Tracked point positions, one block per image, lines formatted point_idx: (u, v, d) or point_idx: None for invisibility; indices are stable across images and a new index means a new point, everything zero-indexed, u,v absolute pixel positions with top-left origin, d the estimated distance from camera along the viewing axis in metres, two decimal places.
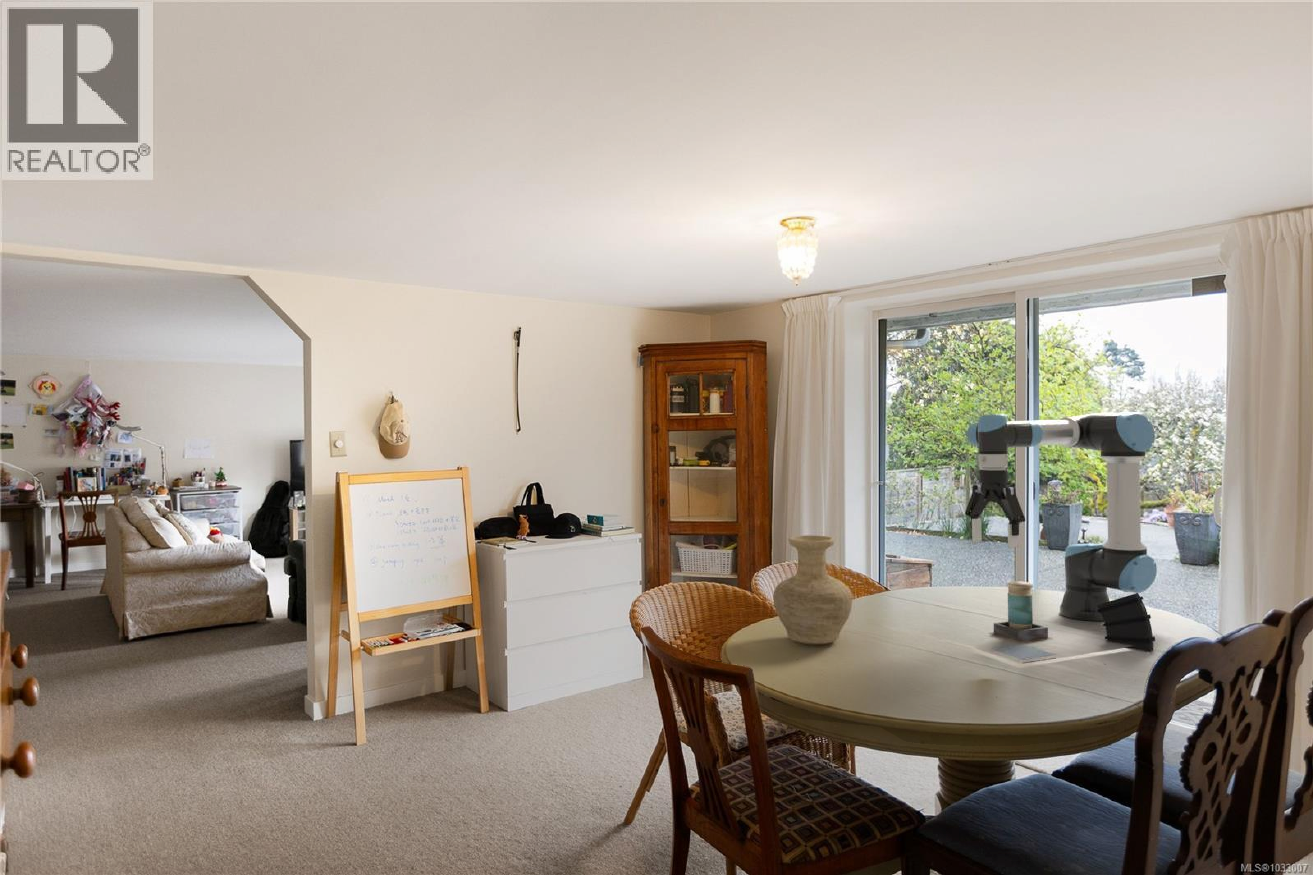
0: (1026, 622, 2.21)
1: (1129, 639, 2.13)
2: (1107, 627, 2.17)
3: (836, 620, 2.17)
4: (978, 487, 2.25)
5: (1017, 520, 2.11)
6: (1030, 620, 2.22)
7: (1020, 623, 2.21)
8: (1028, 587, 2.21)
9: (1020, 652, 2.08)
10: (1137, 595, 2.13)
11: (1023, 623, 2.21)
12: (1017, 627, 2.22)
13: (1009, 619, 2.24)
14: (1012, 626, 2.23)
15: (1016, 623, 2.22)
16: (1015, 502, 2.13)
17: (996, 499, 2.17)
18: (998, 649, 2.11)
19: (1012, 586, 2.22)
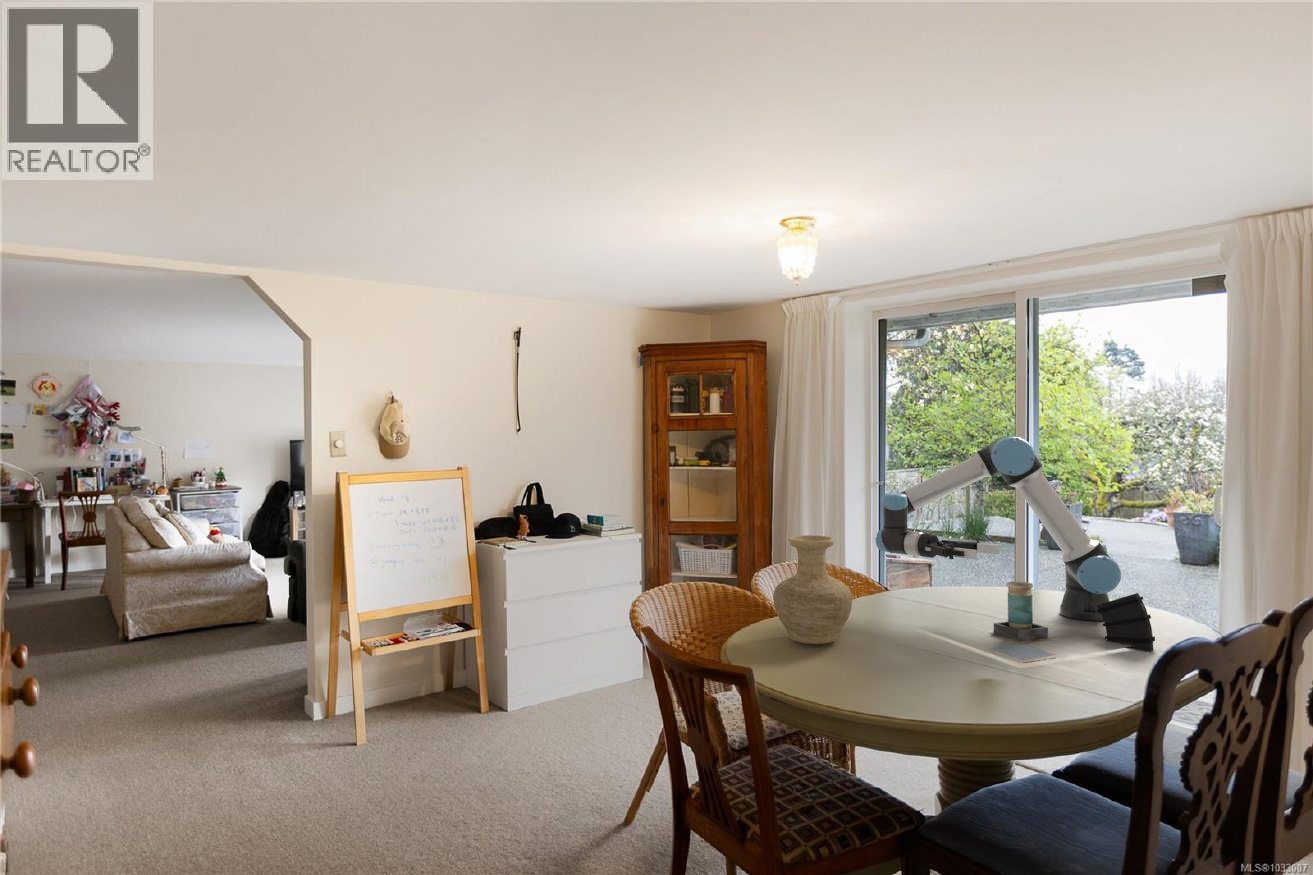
0: (1026, 622, 2.21)
1: (1129, 639, 2.13)
2: (1107, 627, 2.17)
3: (836, 620, 2.17)
4: None
5: None
6: (1030, 620, 2.22)
7: (1020, 623, 2.21)
8: (1028, 587, 2.21)
9: (1020, 652, 2.08)
10: (1137, 595, 2.13)
11: (1023, 623, 2.21)
12: (1017, 627, 2.22)
13: (1009, 619, 2.24)
14: (1012, 626, 2.23)
15: (1016, 623, 2.22)
16: (934, 550, 2.36)
17: None
18: (998, 649, 2.11)
19: (1012, 586, 2.22)
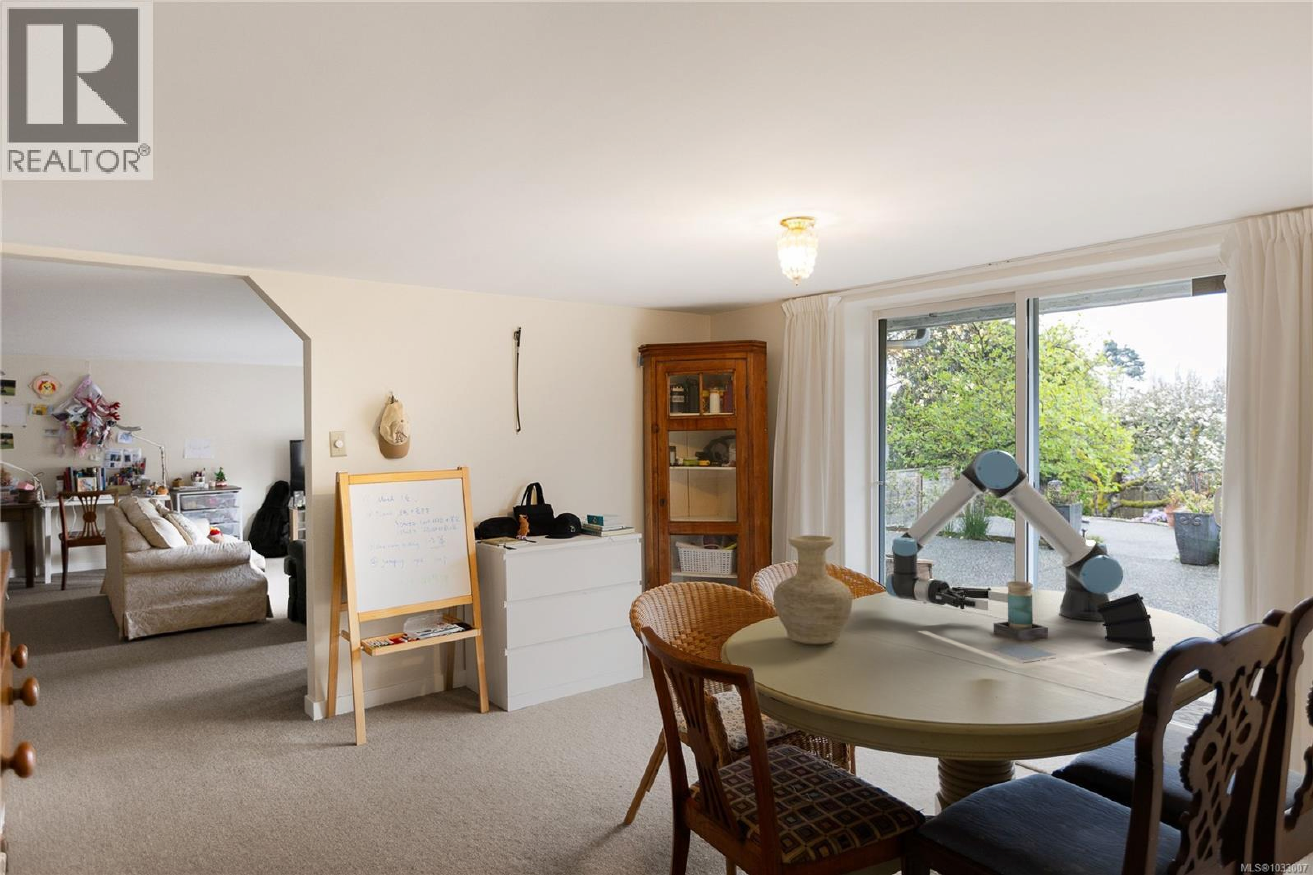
0: (1026, 622, 2.21)
1: (1129, 639, 2.13)
2: (1107, 627, 2.17)
3: (836, 620, 2.17)
4: None
5: None
6: (1030, 620, 2.22)
7: (1020, 623, 2.21)
8: (1028, 587, 2.21)
9: (1020, 652, 2.08)
10: (1137, 595, 2.13)
11: (1023, 623, 2.21)
12: (1017, 627, 2.22)
13: (1009, 619, 2.24)
14: (1012, 626, 2.23)
15: (1016, 623, 2.22)
16: (945, 599, 2.33)
17: None
18: (998, 649, 2.11)
19: (1012, 586, 2.22)
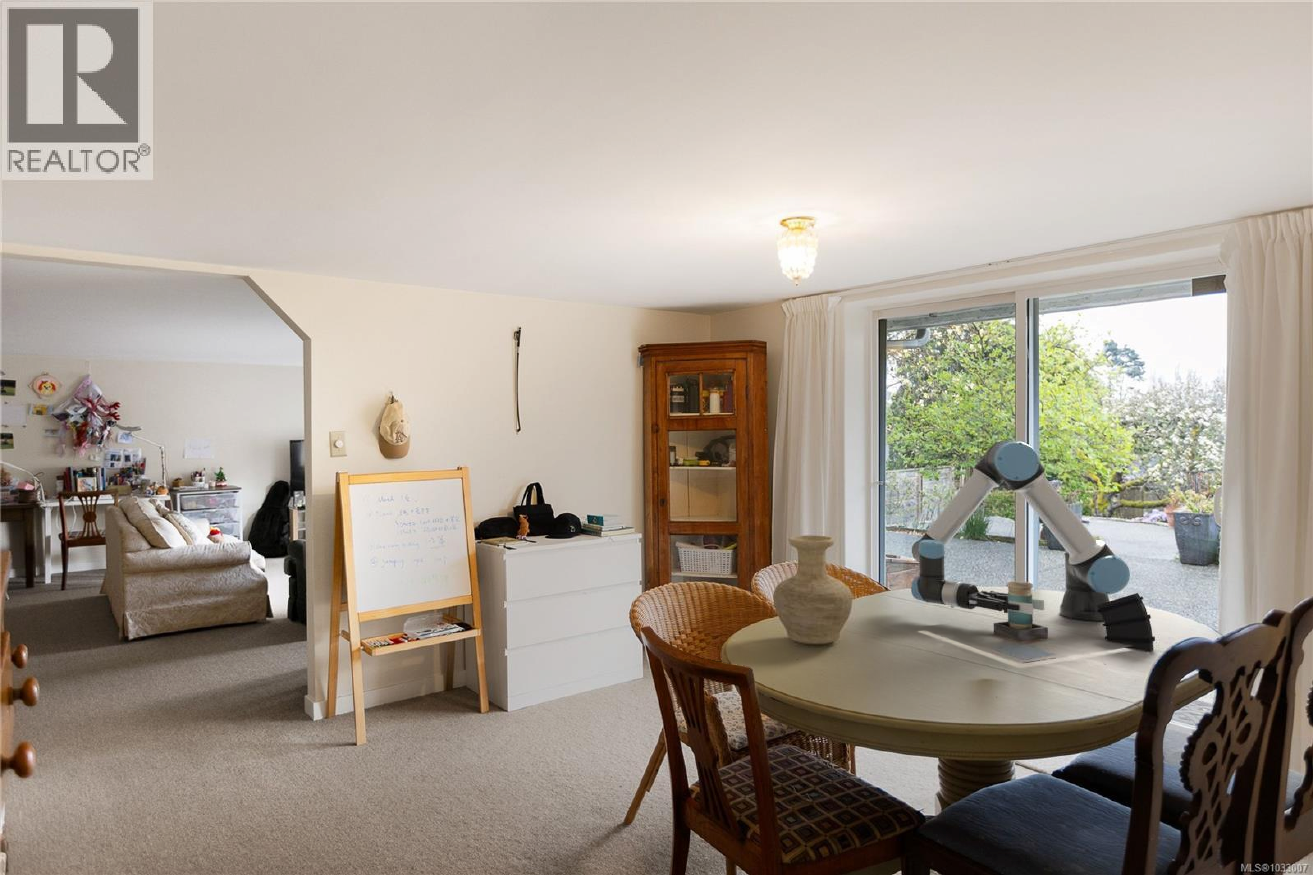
0: (1026, 622, 2.21)
1: (1129, 639, 2.13)
2: (1107, 627, 2.17)
3: (836, 620, 2.17)
4: None
5: (1000, 610, 2.22)
6: (1030, 620, 2.22)
7: (1020, 623, 2.21)
8: (1028, 587, 2.21)
9: (1020, 652, 2.08)
10: (1137, 595, 2.13)
11: (1023, 623, 2.21)
12: (1017, 627, 2.22)
13: (1009, 619, 2.24)
14: (1012, 626, 2.23)
15: (1016, 623, 2.22)
16: (983, 603, 2.26)
17: None
18: (998, 649, 2.11)
19: (1012, 586, 2.22)
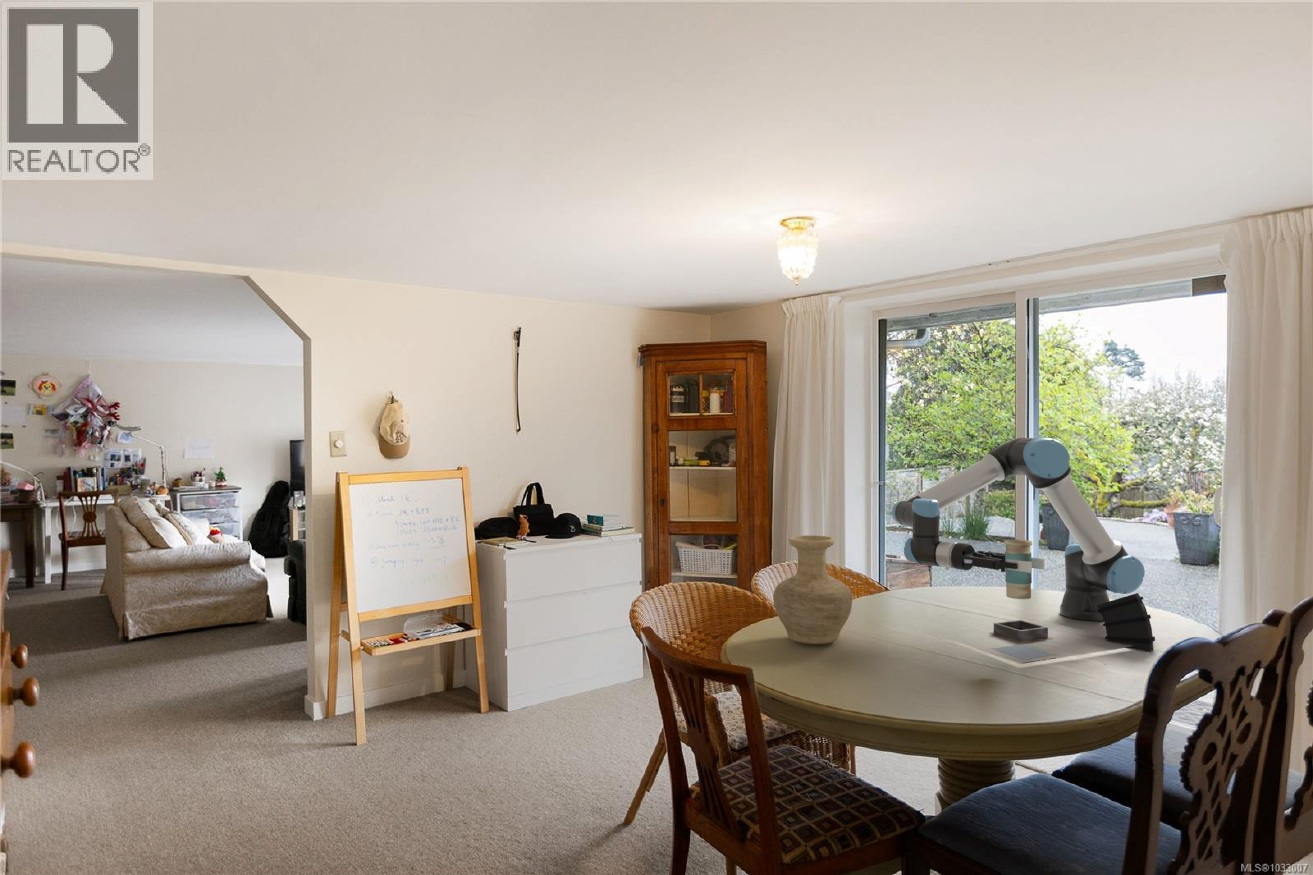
0: (1024, 582, 2.07)
1: (1129, 639, 2.13)
2: (1107, 627, 2.17)
3: (836, 620, 2.17)
4: None
5: (997, 569, 2.08)
6: (1029, 580, 2.07)
7: (1018, 583, 2.07)
8: (1027, 544, 2.07)
9: (1020, 652, 2.08)
10: (1137, 595, 2.13)
11: (1021, 583, 2.07)
12: (1014, 587, 2.08)
13: (1006, 579, 2.10)
14: (1010, 586, 2.09)
15: (1013, 583, 2.08)
16: (979, 562, 2.12)
17: None
18: (998, 649, 2.11)
19: (1010, 543, 2.08)
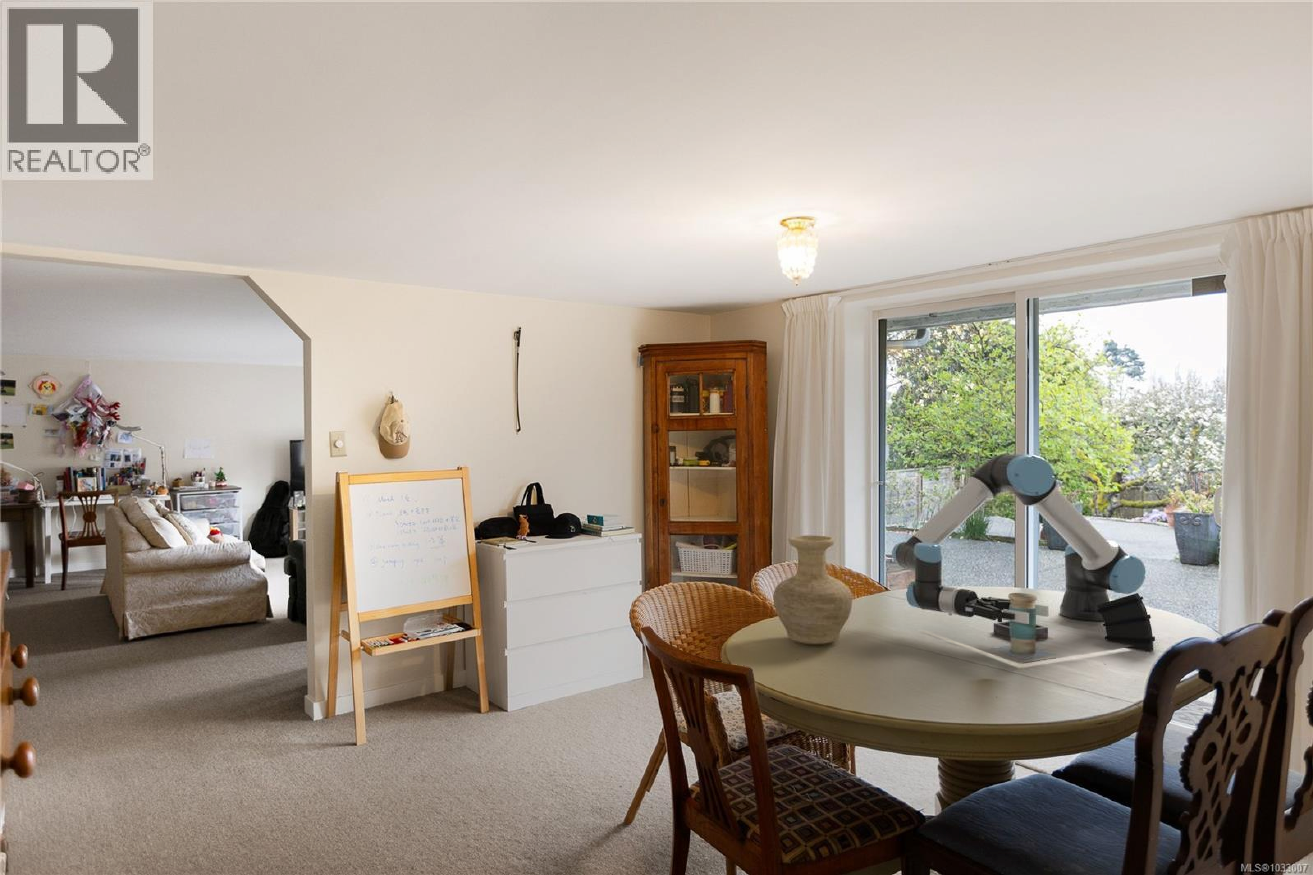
0: (1029, 637, 2.06)
1: (1129, 639, 2.13)
2: (1107, 627, 2.17)
3: (836, 620, 2.17)
4: None
5: None
6: (1033, 635, 2.06)
7: (1023, 638, 2.06)
8: (1031, 599, 2.05)
9: None
10: (1137, 595, 2.13)
11: (1026, 638, 2.06)
12: (1019, 642, 2.06)
13: (1011, 633, 2.09)
14: (1014, 641, 2.08)
15: (1018, 638, 2.07)
16: (978, 611, 2.10)
17: None
18: (998, 649, 2.11)
19: (1014, 598, 2.07)
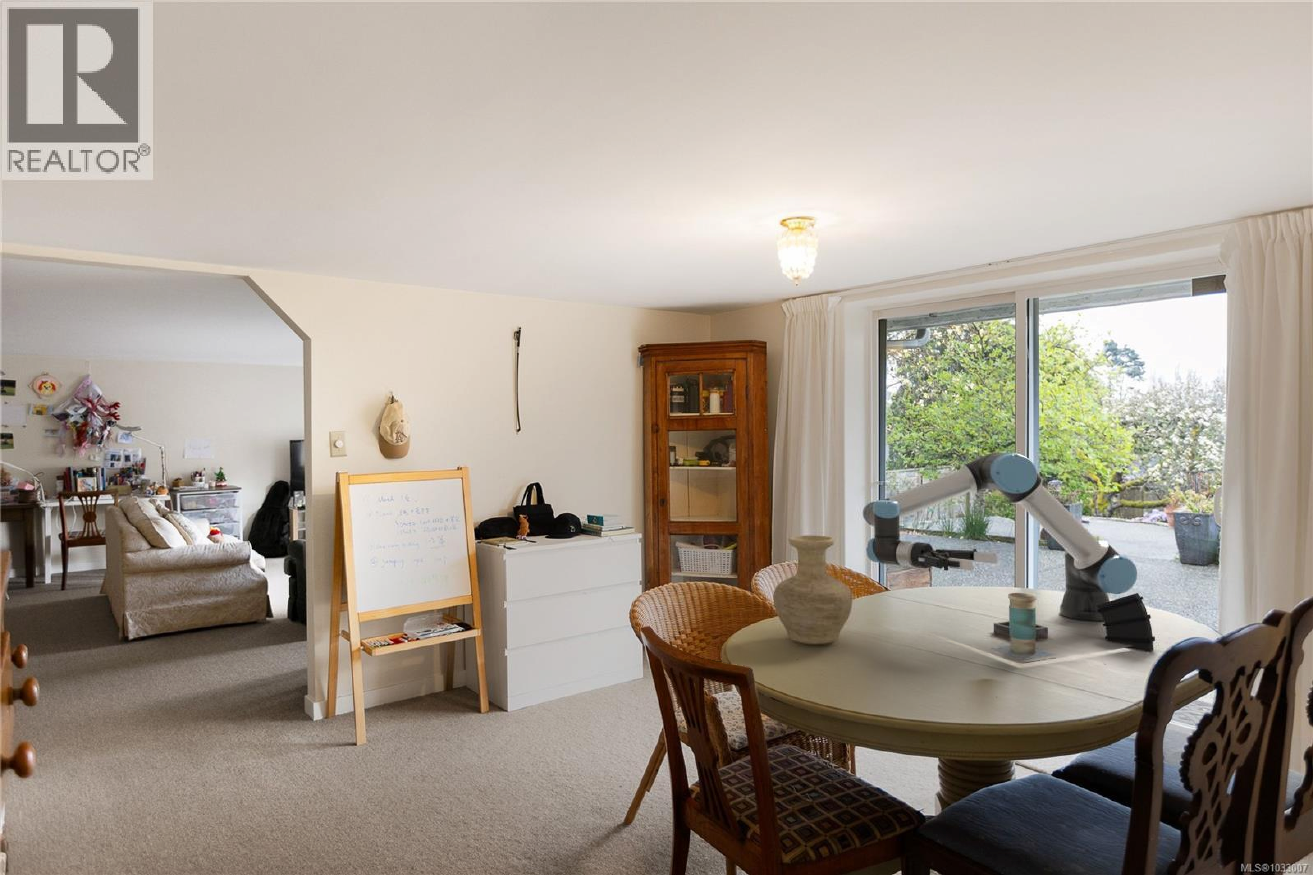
0: (1029, 637, 2.06)
1: (1129, 639, 2.13)
2: (1107, 627, 2.17)
3: (836, 620, 2.17)
4: None
5: (940, 568, 2.16)
6: (1033, 635, 2.06)
7: (1022, 638, 2.06)
8: (1031, 599, 2.05)
9: None
10: (1137, 595, 2.13)
11: (1026, 638, 2.06)
12: (1019, 642, 2.07)
13: (1011, 634, 2.09)
14: (1014, 641, 2.08)
15: (1018, 638, 2.07)
16: (928, 561, 2.21)
17: None
18: (998, 649, 2.11)
19: (1014, 598, 2.07)
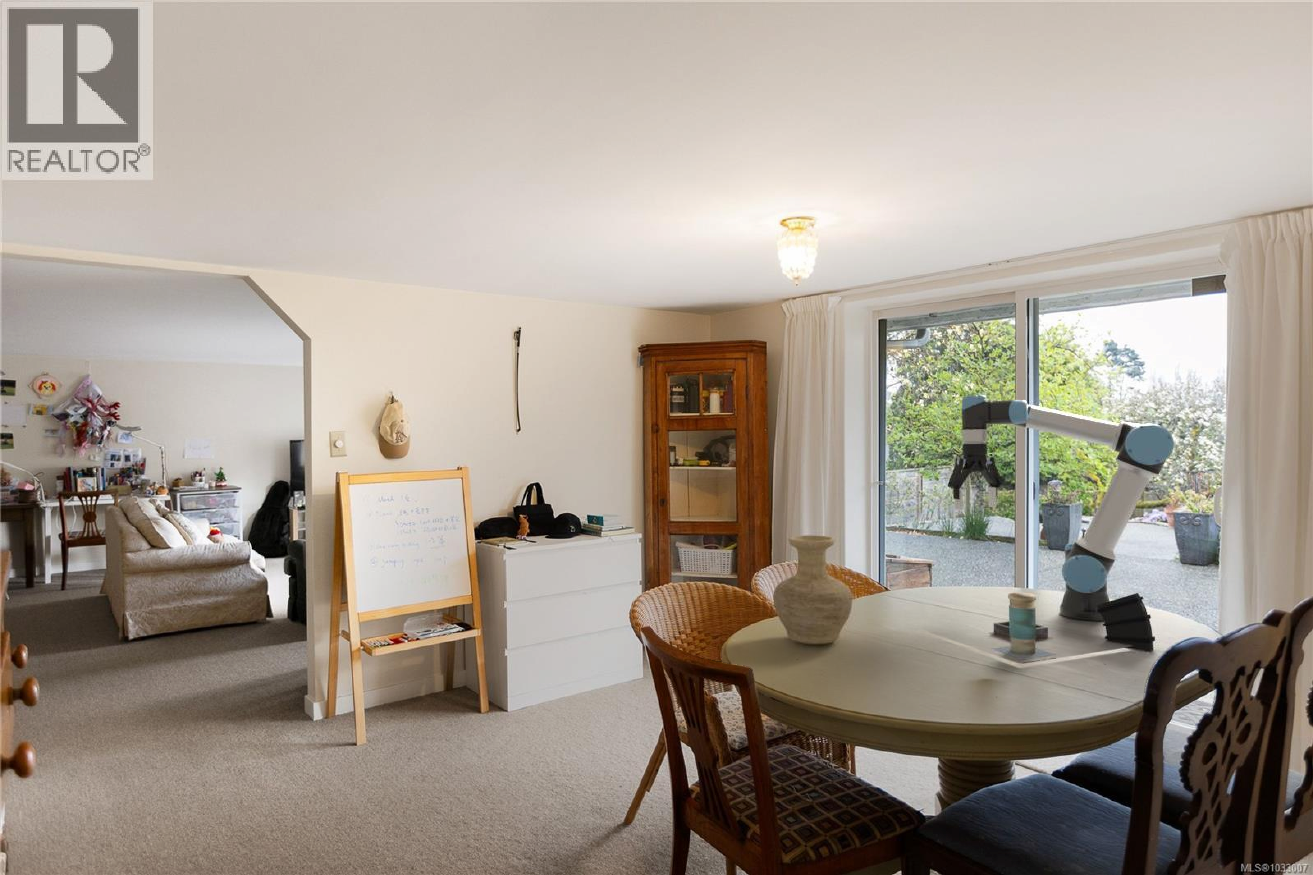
0: (1029, 637, 2.06)
1: (1129, 639, 2.13)
2: (1107, 627, 2.17)
3: (836, 620, 2.17)
4: None
5: None
6: (1033, 635, 2.06)
7: (1022, 638, 2.06)
8: (1031, 599, 2.05)
9: None
10: (1137, 595, 2.13)
11: (1025, 638, 2.06)
12: (1019, 642, 2.07)
13: (1010, 633, 2.09)
14: (1014, 641, 2.08)
15: (1017, 638, 2.07)
16: (955, 470, 2.51)
17: None
18: (998, 649, 2.11)
19: (1013, 598, 2.07)
